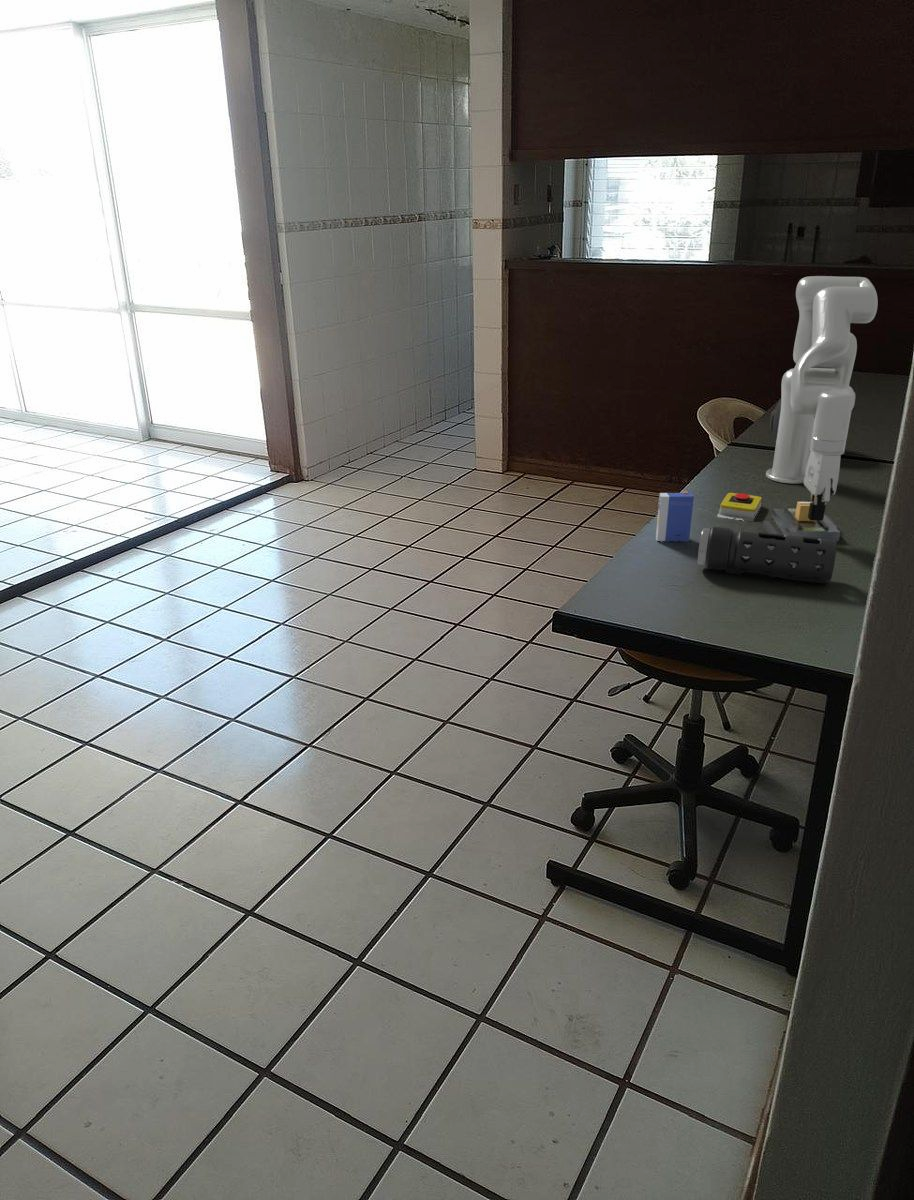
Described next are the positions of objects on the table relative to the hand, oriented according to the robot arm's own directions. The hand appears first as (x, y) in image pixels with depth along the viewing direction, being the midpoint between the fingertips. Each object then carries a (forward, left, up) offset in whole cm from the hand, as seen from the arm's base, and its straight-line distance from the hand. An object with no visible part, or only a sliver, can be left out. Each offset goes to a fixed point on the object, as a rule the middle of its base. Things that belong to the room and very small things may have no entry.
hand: (815, 519), depth 218 cm
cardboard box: (-7, 0, -2) cm, 7 cm away
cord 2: (-9, +7, -5) cm, 13 cm away
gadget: (-76, +19, -6) cm, 78 cm away
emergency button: (-20, -13, -6) cm, 25 cm away
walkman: (+1, -34, -6) cm, 34 cm away
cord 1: (-2, -9, -5) cm, 11 cm away
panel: (-7, 0, -5) cm, 9 cm away
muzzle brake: (+22, -17, -6) cm, 29 cm away
